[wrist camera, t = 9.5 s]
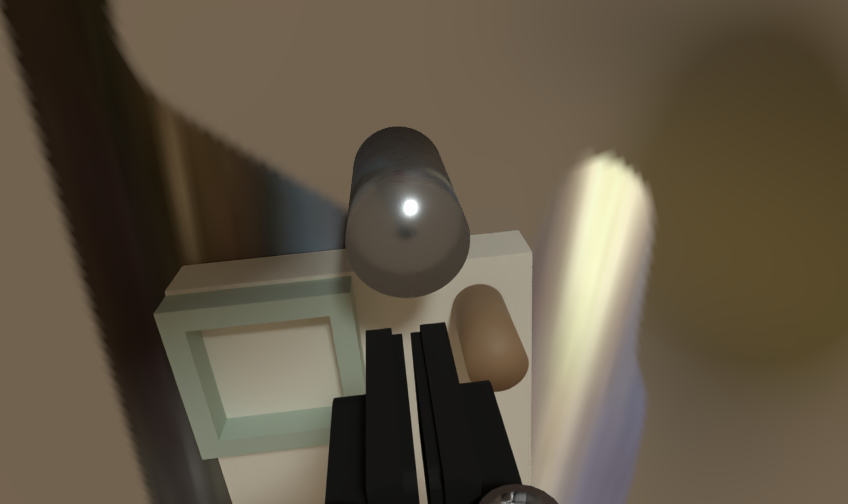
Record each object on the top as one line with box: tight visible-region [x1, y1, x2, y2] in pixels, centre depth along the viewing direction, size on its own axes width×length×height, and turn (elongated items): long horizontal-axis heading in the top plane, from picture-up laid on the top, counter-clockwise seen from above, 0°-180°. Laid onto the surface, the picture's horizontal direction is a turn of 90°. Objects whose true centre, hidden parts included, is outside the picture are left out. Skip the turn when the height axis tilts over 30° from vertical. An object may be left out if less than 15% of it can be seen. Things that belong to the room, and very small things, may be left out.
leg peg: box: [345, 127, 470, 298], centre depth 21 cm, size 4×4×8 cm
